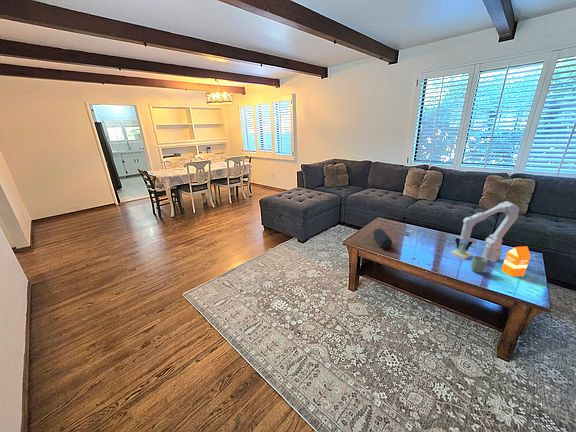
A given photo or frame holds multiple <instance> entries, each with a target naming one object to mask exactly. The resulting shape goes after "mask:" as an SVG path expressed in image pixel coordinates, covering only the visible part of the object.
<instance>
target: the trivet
mask: <svg viewBox="0 0 576 432" xmlns="http://www.w3.org/2000/svg"><path fill="white" fill-rule="evenodd" d="M457 249H458V248H456V249H453V250H452V251H450V255H452V256H455V257H457V258H460V259H462V260H466V259H468V258H470V257H472V255H473V254H472V253H471V252H469V251H466V252H462V253H461V252H459V251H458V250H457Z"/></svg>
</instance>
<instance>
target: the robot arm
mask: <svg viewBox="0 0 576 432" xmlns="http://www.w3.org/2000/svg"><path fill="white" fill-rule="evenodd" d="M519 211H520V207H519V206H518V205H517V204H515V203H512V202H510V201H508V200H505V201H502V202H499V204H497V205H495V206H494V207H492V208H489V209H488V210H486V211H483V212H476V214H473V215H470V216H467V217H464V219H463V220H462V222H463V225H462V229H461V234H460V235H455V234H454V235H453V237H452V239H454V241H455V243H456V249H458V244H459V243H461V242H460V241H465V242H467V248H466V252H468V249H469V248H470V247H471V246H472V245H473V244H474V245H475V244H477V242H478V241H477V240H476V239H473V238H471V235H472V230H473V227H474V226H475V225H476V224H477V223H479V222H481V221H482V222H483V221H484V220H486V218H487V217H489V216H492V215H494V214H497V213H505V215H506V216H505V218H504V219H503V220H502V221H501V223H500V224H499V226H498V227H497V228H496V230H495V231H494V232H493V234H489V236H488V237H486V238H485V239H484V242H485V247H484V250H483V253H482V255H480V256H481V257H484V258H486V259H487V260H488V261H490V262H493V263H495V262H497V261H499V260H500V258H501V254H502V250H501V249H500V248H501V247H502V243H503V238H504V236H505V235H506V234H507V232H508V231H509V230H510V228H511V227H512V225H513V224H514V223H515V221H516V220H517V219H518V217H519Z"/></svg>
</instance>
